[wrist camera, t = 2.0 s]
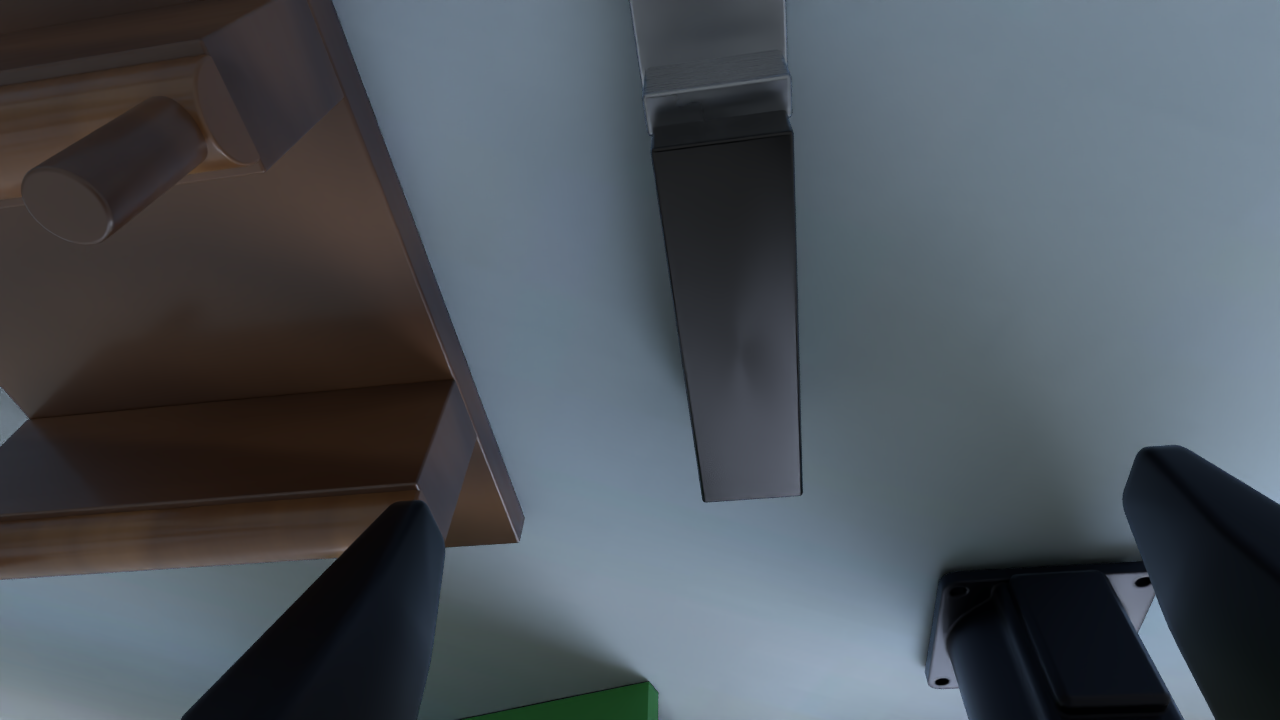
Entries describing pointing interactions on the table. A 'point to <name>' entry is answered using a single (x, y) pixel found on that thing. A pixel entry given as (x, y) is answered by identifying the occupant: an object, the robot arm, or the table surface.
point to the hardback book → (590, 706)
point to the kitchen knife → (728, 231)
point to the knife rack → (216, 299)
